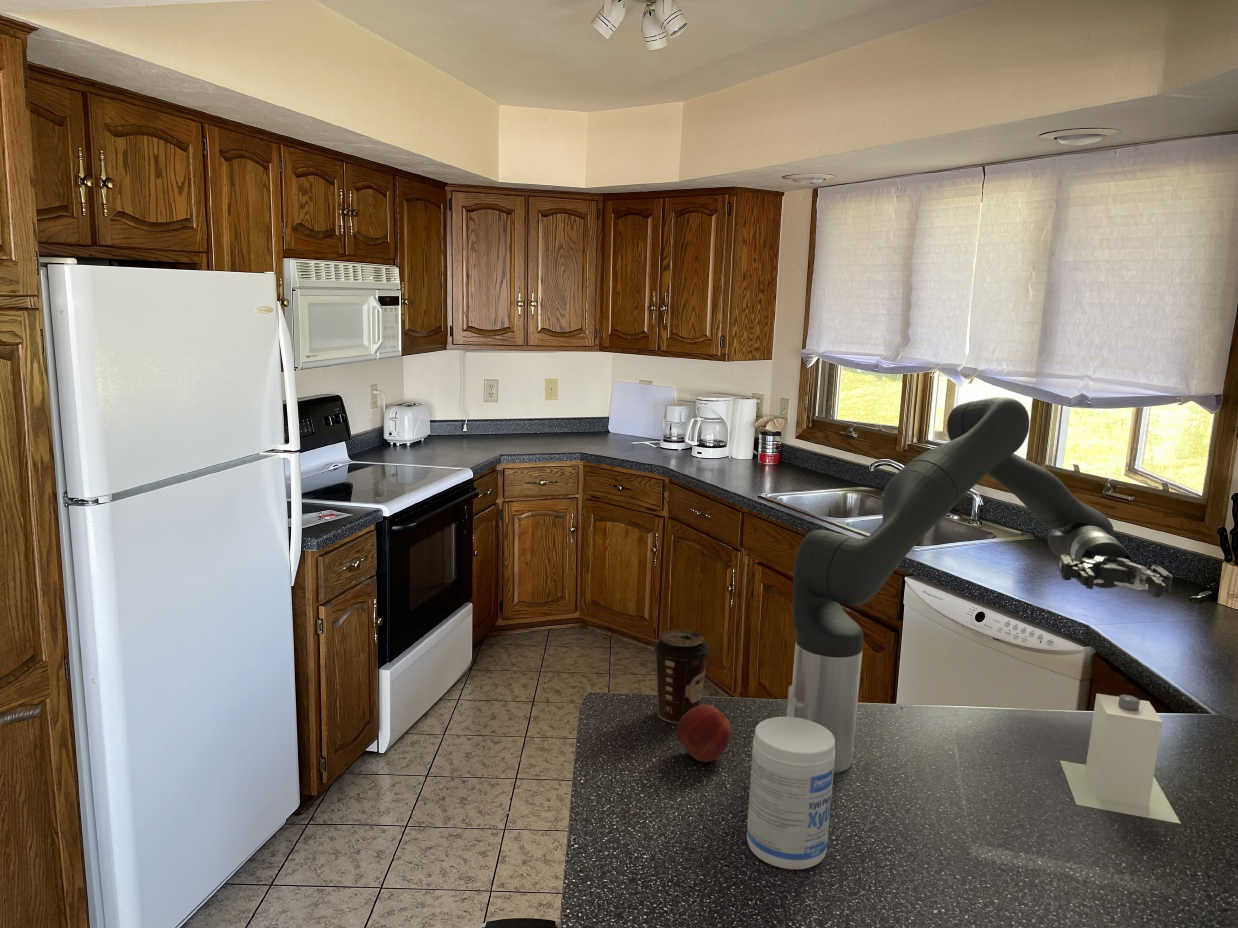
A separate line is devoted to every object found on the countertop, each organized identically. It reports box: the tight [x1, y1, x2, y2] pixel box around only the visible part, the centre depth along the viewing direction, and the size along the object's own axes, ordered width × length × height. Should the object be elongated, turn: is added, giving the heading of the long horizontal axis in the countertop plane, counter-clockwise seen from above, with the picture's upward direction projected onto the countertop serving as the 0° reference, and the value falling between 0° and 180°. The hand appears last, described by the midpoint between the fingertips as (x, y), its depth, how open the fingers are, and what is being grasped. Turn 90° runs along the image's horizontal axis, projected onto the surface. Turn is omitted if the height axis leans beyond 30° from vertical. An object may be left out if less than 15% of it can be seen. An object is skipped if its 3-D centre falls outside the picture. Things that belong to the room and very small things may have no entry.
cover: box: [1085, 693, 1163, 807], centre depth 116 cm, size 6×6×13 cm
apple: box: [675, 703, 732, 763], centre depth 123 cm, size 7×8×8 cm
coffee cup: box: [653, 629, 711, 725], centre depth 135 cm, size 9×8×13 cm
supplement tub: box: [746, 716, 835, 870], centre depth 102 cm, size 10×10×15 cm
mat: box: [1059, 760, 1181, 824], centre depth 117 cm, size 12×12×1 cm
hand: (1124, 586), depth 123 cm, fingers open, 8 cm apart
